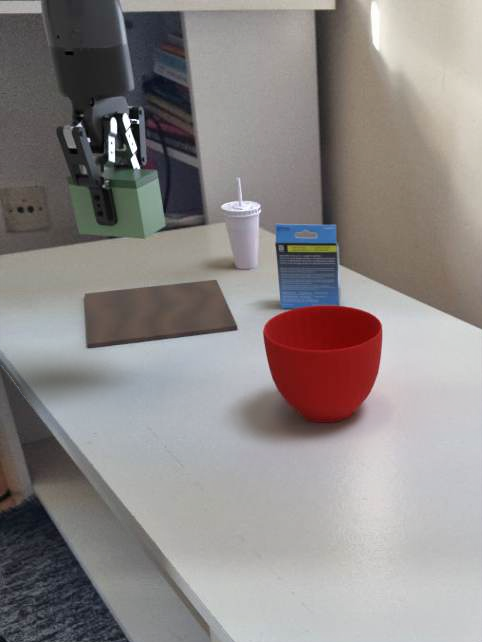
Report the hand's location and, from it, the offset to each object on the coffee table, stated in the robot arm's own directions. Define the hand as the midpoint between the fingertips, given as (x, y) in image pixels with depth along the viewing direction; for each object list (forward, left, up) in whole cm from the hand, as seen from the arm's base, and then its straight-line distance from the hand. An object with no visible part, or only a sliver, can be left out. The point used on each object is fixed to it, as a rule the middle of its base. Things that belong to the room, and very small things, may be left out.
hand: (120, 216), depth 89 cm
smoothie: (+19, +38, -19) cm, 47 cm away
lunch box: (0, 0, -1) cm, 1 cm away
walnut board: (+3, +21, -19) cm, 29 cm away
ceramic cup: (+20, -14, -19) cm, 31 cm away
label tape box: (+25, +17, -19) cm, 36 cm away
